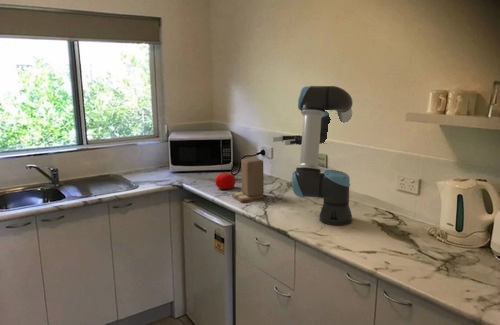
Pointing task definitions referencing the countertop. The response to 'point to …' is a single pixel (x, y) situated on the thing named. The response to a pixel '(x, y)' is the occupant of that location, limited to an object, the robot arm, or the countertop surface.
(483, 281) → the countertop surface
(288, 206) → the countertop surface
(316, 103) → the robot arm
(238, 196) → the trivet
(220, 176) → the tomato
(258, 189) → the block
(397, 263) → the countertop surface
